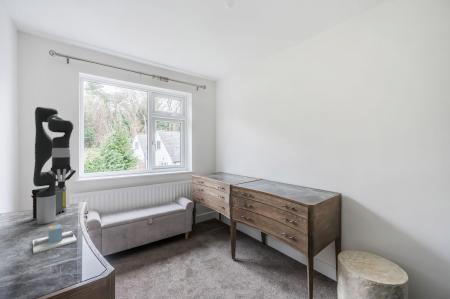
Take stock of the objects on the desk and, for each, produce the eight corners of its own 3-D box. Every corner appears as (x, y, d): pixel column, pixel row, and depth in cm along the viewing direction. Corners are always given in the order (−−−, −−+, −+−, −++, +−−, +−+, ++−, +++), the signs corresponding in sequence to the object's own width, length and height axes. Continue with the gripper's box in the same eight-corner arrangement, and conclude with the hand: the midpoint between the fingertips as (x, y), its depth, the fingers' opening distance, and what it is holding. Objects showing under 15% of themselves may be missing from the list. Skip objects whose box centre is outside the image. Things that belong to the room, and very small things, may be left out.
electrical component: (42, 219, 132) (42, 190, 132) (30, 218, 134) (30, 189, 134) (67, 211, 149) (67, 185, 149) (57, 210, 151) (57, 185, 151)
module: (47, 239, 100) (47, 226, 100) (60, 236, 104) (60, 223, 104) (48, 243, 95) (48, 230, 95) (61, 240, 99) (61, 227, 99)
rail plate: (32, 242, 99) (32, 237, 99) (71, 232, 111) (71, 228, 111) (33, 253, 88) (33, 248, 88) (76, 241, 100) (76, 236, 100)
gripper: (75, 156, 111) (75, 185, 111) (43, 156, 101) (44, 189, 102) (77, 156, 106) (77, 187, 106) (44, 157, 96) (45, 191, 96)
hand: (61, 188), depth 104 cm, fingers closed
